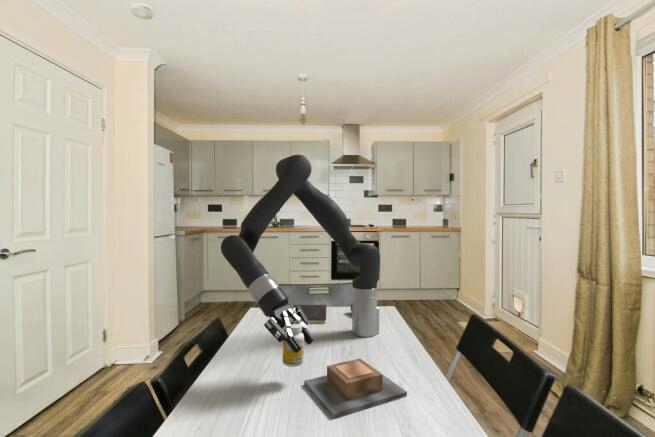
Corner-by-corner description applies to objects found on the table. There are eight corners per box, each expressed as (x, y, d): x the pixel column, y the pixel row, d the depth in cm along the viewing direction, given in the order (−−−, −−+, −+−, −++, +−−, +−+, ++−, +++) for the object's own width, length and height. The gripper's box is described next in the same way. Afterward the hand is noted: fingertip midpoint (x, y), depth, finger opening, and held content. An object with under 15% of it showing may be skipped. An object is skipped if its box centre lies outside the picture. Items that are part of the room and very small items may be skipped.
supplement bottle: (286, 357, 88) (287, 321, 88) (305, 360, 87) (306, 323, 87) (279, 365, 83) (281, 327, 83) (299, 368, 81) (301, 329, 82)
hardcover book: (326, 309, 155) (326, 304, 155) (325, 325, 132) (325, 319, 132) (293, 309, 155) (293, 304, 155) (286, 325, 132) (286, 319, 132)
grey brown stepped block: (369, 368, 92) (369, 350, 92) (406, 395, 78) (406, 374, 78) (304, 384, 83) (304, 364, 83) (333, 418, 69) (333, 394, 69)
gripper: (258, 291, 81) (298, 348, 76) (291, 281, 94) (327, 329, 88) (242, 309, 84) (280, 366, 78) (276, 297, 96) (311, 345, 91)
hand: (305, 346), depth 83 cm, fingers closed on supplement bottle, 5 cm apart
